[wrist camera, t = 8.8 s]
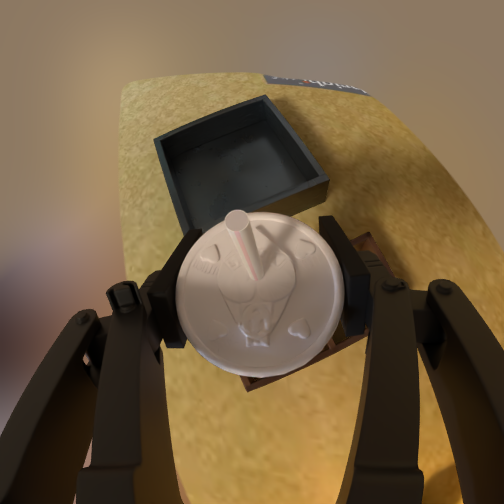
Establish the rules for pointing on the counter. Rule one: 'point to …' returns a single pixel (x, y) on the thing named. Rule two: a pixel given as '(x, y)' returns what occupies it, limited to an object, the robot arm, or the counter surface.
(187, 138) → the dark grey square tray
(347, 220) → the counter surface
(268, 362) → the smoothie
